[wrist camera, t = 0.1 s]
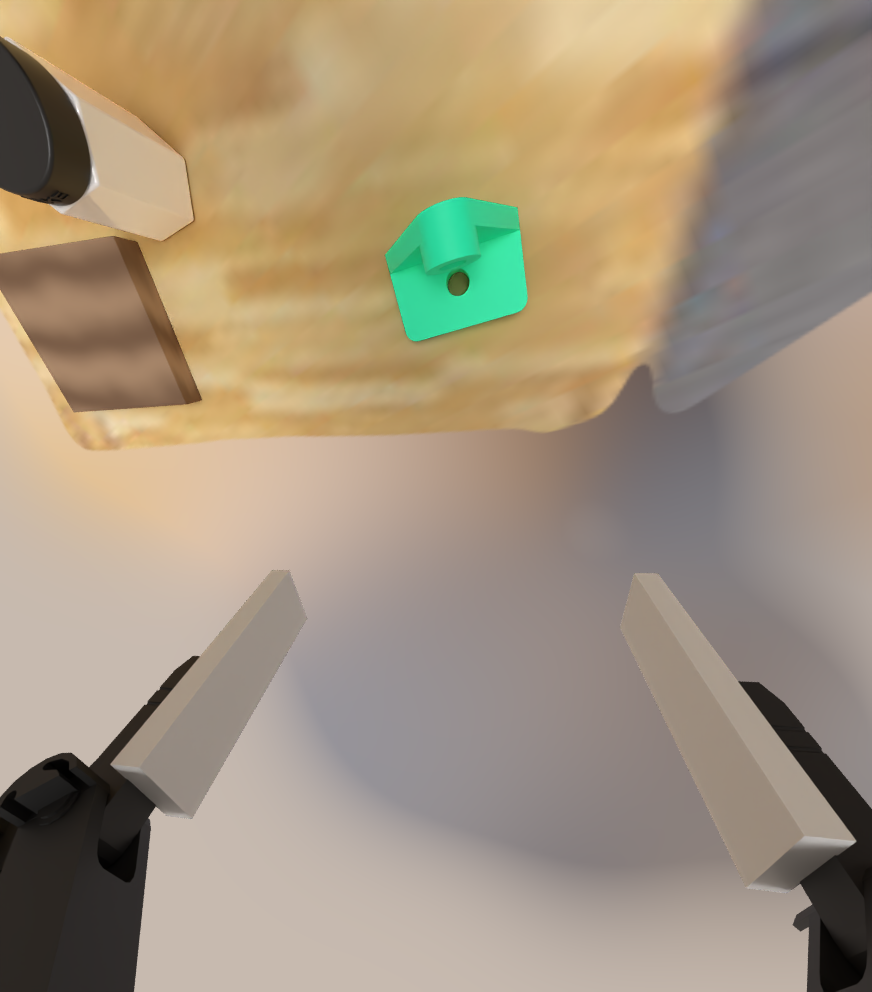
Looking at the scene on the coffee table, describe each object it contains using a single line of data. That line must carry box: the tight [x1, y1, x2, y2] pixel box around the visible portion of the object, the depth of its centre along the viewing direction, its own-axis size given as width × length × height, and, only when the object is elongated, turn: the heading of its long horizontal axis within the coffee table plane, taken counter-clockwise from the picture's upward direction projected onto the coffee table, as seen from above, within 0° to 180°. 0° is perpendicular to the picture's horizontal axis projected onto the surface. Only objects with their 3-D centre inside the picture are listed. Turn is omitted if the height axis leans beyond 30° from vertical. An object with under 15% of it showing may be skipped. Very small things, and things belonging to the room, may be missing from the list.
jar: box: [0, 37, 194, 241], centre depth 25 cm, size 9×8×12 cm
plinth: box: [0, 236, 202, 412], centre depth 37 cm, size 16×16×2 cm
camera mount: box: [385, 197, 527, 341], centre depth 28 cm, size 12×8×10 cm, turn 105°
